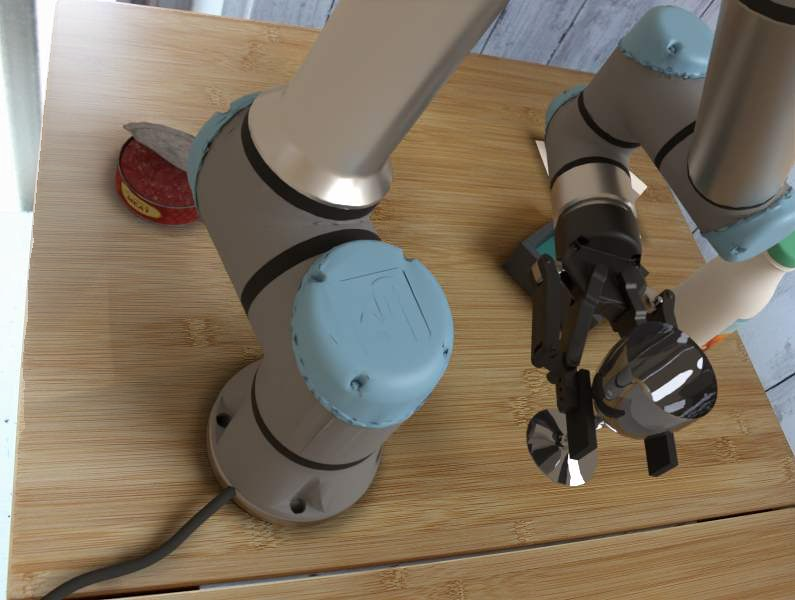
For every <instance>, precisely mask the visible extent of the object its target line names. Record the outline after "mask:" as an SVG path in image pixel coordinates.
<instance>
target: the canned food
mask: <svg viewBox="0 0 795 600" xmlns="http://www.w3.org/2000/svg"><path fill="white" fill-rule="evenodd" d="M122 128H123V129H124V130H126V131H127V132H129V133H130V134H131V136H130V137H128V138H127V139H126V141H124V143H122V145H121V147H120V149H119V150H118V154H117V155H118V156H117V163H116V168H115V173H114V179H113V180H114V187H115V191H116V194H117V196H118V197H119V199H120V201H121V202H122V203H123V205H124V206H125V207H126V208H127V209H128V210H129V211H130V212H132V213H133V214H134V215H136V216H137V217H139V218H141V219H143V220H144V221H146V222H150V223H152V224H155V225H159V226H165V227H181V226H187V225H190V224H193V223H196V222H197V221H199V220H200V221H201V219H200V217H199V214H198V213H197V209H196V207H195V202H194V199H193V193H192V190H191V188H190V185H189V182H188V176H187V161H188V155H189V152H190V148H191V146H192V143H193V141H194V139H195V137H196V136H194V135H192V134H190V133H187V132H185V131H184V130H180V129H177V128H173V127H170V126H168V125H165V124H161V123H152V122H147V121H140V122H135V121H129V122H128V123H124V124H122Z"/></svg>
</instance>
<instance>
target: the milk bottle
mask: <svg viewBox="0 0 795 600" xmlns="http://www.w3.org/2000/svg"><path fill="white" fill-rule="evenodd" d="M793 271H795V230H794V231H793V232H792V233H791V234H790V235H788V236H787V237H786V238H784V239H783V240H781V241H780V242H779V243H777V244H775V245H774V246H772V247H771V248H769V249H767V250H765V251H764V252H762V253H760V254H758V255H756V256H754V257H752V258H750V259H747V260H745V261H741V262H736V263H732V262H727V261H725V260H723V259H722V258H721V257H720V256H719V255H718V254H717V255H716V256H715V257H712V258H711V259H710V260H708V261H707V262H706V263H704V264H703V265H701V266H700V267H699V268H697V269H696V270H695V271H694V272H693V273H692V274H690V275H688V277H687V278H685V279H684V280H683V281H681V282H680V283H679V284H678V285H677V286H675V287H674V288H673V289H672V290H671V291H672V292H673V293H674V295H675V306H674V314H675V318H676V322H677V325H678V329H679V330H681V331H682V332H684V333H685V334H687V335H688V336H689V337H690V338H691V339H692V340H693V341H695V342H696V344H697V345H698V346H699V347H700V348H701V349H702V351H703V352H704V353H706V352H707V351H708V350H709V349H711V348H713V347H714V346H715V345H717V344H718V343H720V342H721V341H722V340H724V339H725V338H727V337H728V336H730V335H731V334H732V333H734V332H735V331H737V330H738V329H740V328H741V327H742V326H743V325H745V324H747V323H748V322H749V321H750V320H751V319H753V318H754V317H756V316H757V315H758V314H759V313H760V312H761V311H762V310H763V309H764V308H765V307H766V306H767V305H768V304H769V302H770V301H771V299H772V298H773V296H774V293H775V291H776V289H777V288H778V285H779V283H780V281H781V280H782V279H783V277H784V276H785V274H786V273H788V272H789V273H790V272H793Z"/></svg>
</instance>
